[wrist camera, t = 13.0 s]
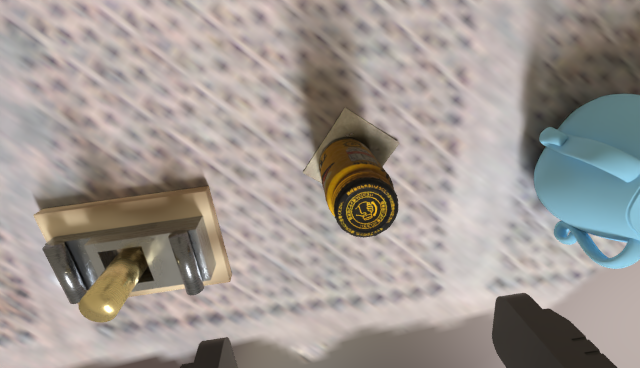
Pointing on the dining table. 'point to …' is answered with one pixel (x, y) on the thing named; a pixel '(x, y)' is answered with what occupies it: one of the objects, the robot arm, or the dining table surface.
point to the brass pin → (114, 285)
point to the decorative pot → (595, 176)
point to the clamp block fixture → (138, 241)
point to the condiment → (356, 175)
